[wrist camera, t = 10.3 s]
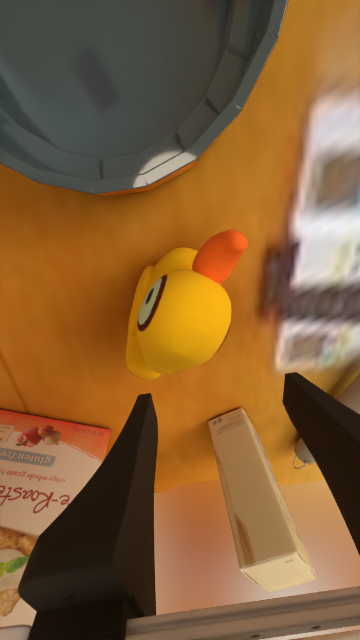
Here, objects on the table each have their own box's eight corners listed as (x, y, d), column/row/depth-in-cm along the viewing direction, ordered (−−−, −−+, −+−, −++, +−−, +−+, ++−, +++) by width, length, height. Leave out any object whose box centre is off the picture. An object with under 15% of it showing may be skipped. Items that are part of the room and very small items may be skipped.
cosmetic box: (206, 419, 27) (235, 569, 16) (241, 404, 26) (298, 550, 15) (227, 451, 30) (265, 597, 19) (260, 438, 29) (320, 582, 18)
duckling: (175, 199, 17) (189, 198, 8) (237, 236, 18) (308, 272, 9) (114, 327, 21) (79, 420, 12) (169, 349, 22) (173, 448, 14)
